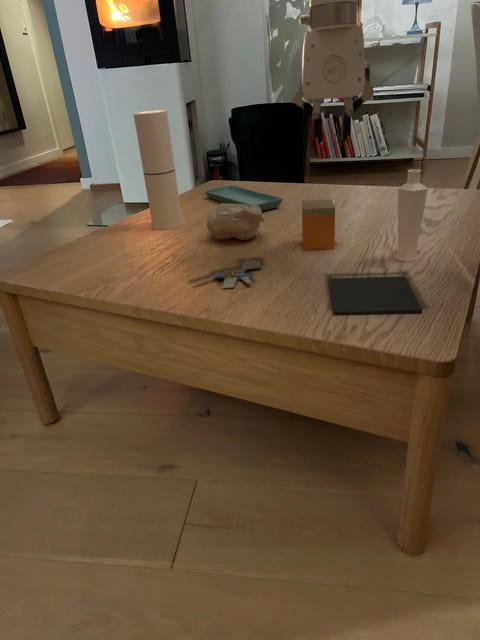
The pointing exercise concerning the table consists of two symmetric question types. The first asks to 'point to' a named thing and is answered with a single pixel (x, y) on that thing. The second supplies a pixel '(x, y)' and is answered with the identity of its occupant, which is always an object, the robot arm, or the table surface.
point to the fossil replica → (235, 221)
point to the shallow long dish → (243, 197)
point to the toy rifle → (231, 281)
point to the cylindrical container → (158, 168)
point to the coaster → (372, 296)
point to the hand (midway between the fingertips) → (331, 140)
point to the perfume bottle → (410, 215)
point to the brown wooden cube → (318, 224)
